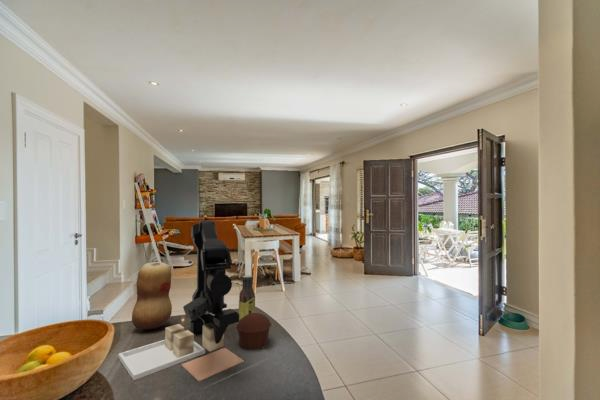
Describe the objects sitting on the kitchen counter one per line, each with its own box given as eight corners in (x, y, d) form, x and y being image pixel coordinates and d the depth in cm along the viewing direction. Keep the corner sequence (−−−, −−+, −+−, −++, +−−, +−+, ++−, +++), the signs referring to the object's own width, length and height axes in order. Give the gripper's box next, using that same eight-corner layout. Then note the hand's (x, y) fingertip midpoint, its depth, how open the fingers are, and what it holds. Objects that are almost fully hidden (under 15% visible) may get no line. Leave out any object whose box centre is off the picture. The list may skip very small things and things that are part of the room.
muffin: (240, 356, 88) (240, 323, 88) (232, 341, 98) (233, 312, 98) (276, 348, 93) (276, 317, 93) (265, 335, 103) (265, 307, 103)
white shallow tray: (183, 338, 100) (184, 333, 100) (205, 355, 88) (205, 349, 89) (118, 359, 86) (118, 353, 86) (133, 382, 74) (133, 375, 74)
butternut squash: (152, 338, 100) (153, 267, 101) (122, 333, 104) (124, 265, 104) (179, 323, 113) (180, 260, 114) (152, 319, 117) (154, 259, 118)
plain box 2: (187, 348, 91) (187, 329, 92) (193, 353, 88) (193, 334, 88) (173, 353, 88) (173, 334, 88) (179, 359, 85) (179, 338, 85)
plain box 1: (178, 341, 96) (179, 323, 96) (184, 346, 93) (184, 327, 93) (164, 346, 93) (165, 327, 93) (170, 350, 90) (170, 331, 90)
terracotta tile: (224, 350, 92) (224, 347, 92) (243, 363, 84) (243, 360, 84) (181, 367, 82) (181, 364, 82) (198, 383, 74) (198, 380, 74)
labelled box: (216, 341, 86) (216, 320, 86) (223, 346, 83) (224, 324, 83) (202, 345, 83) (202, 324, 83) (209, 351, 80) (210, 329, 80)
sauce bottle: (251, 332, 105) (251, 278, 106) (235, 330, 106) (236, 277, 107) (257, 325, 112) (257, 274, 112) (242, 324, 113) (243, 274, 114)
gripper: (174, 286, 85) (173, 338, 84) (203, 300, 71) (202, 363, 71) (208, 279, 92) (208, 327, 92) (240, 291, 79) (240, 347, 79)
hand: (213, 340), depth 83 cm, fingers closed on labelled box, 4 cm apart
